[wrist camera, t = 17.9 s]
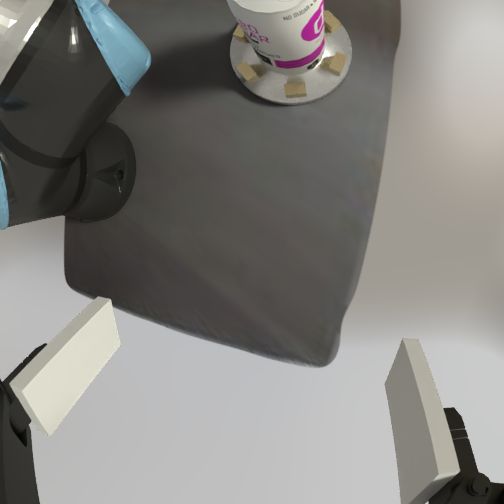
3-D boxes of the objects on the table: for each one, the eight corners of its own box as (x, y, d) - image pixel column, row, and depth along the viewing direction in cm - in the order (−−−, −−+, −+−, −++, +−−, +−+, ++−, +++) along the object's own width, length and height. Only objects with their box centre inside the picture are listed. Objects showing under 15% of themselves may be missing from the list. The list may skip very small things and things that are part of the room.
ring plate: (278, 128, 36) (274, 124, 33) (211, 47, 35) (204, 38, 32) (374, 66, 32) (378, 58, 29) (301, -10, 31) (299, -21, 28)
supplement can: (333, 33, 31) (335, -38, 16) (310, 86, 33) (302, 30, 19) (272, 15, 31) (244, -55, 17) (247, 66, 34) (205, 9, 19)
